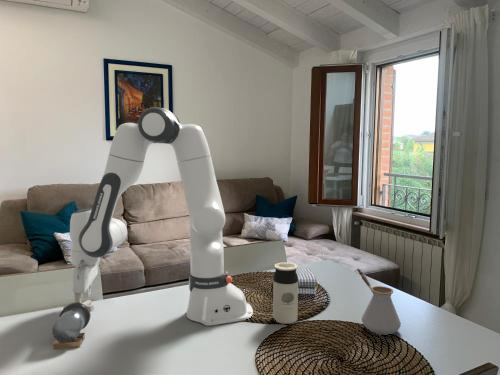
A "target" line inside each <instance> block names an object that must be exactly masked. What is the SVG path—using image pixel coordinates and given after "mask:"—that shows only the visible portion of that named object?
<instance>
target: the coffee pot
mask: <svg viewBox="0 0 500 375" xmlns="http://www.w3.org/2000/svg"><path fill="white" fill-rule="evenodd" d="M356 271H357V273H358V274H359V276H360V277H361V279H362V280H363V282H364V283H365V284H366V286H367V287H368V288H369V290H370V291H371V292H372V296H371V299H369V300H370V301H369V303H368V305H367V306H366V309H365V310H364V312H363V314H362V315H361V316H362V317H361V322H362V324H363V325H364V327H365V328H366V329H367V330H368V329H369V330H370V331H372V332H374V333H377V334H383V335H388V334H392V335H393V334H394V333H396V332H397V331H399V329H400V328H401V324H402V323H401V319H400V318H399V315H398V312H397V310H396V308H395V305H394V303H393V299H392V297H391V296H392V294H393V293H394V289H393V288H391V287H387V286H380V285H377V286H372V285H371V283H370V281H369V280H368V278H367V277H366V276H365V275H364V274H363V271H362V269H360V268H356V269H354V272H356ZM369 330H368V331H369ZM370 331H369V332H370ZM374 333H373V334H374ZM377 334H376V335H377ZM388 336H389V335H388Z"/></svg>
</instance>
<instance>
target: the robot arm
mask: <svg viewBox="0 0 500 375" xmlns="http://www.w3.org/2000/svg"><path fill="white" fill-rule="evenodd" d="M152 144H167V145H170V146H171V147H172V148H173V150H174V154H175V157H176V162H177V167H178V172H179V176H180V180H181V185H182V189H183V193H184V198H185V203H186V208H187V211H188V212H187V213H188V215H189V247H190V248H189V250H190V253H189V255H190V256H189V257H190V260H189V262H190V265H189V266H190V272H189V276H188V289H189V291H190V292H189V298H188V299H189V300H188V305H187V310H186V312H185V315H186V318H188V319H189V320H191V321H193V322H197V323H201V324H203V325H205V326H207V327H210V326H216V325H217V326H218V325H221V324H229V323H235V322H240V321H241V322H242V321H247V320H246V319H248V320H250V319H249V318H251V316H252V315H253V316H254V309H253V306H252V305H251V304H250V303H249V302H247V300H246V296H245V294H244V292H243V290H241V289H240V288H238V287H237V286H235V285H234V284H233V283H232V282H233V277H232V276H231V275H230V274H229V272H228V271H225V270H224V266H225V265H224V263H225V262H224V261H225V260H224V256H225V255H224V254H225V253H224V251H225V249H224V240H223V229H224V226H225V224H226V214H225V209H224V205H223V201H222V196H221V192H220V189H219V186H218V182H217V177H216V173H215V169H214V164H213V160H212V154H211V150H210V147H209V143H208V140H207V138H206V135H205V133H204V131H203V129H202V127H201V126H199V125H197V124H194V123H186V124H182V123H181V122H180V120H179V118H178V117H177V115H176V114H174V113H173V112H171V110H169V109H167V108H163V107H158V106H153V107H149V108H147V109H145V110H144V111H142V112H141V113H140V116H139V117H138V120H137V123H135V122H125V123H122V124H120V125H119V126H118V127H117V129H116V131H115V133H114V135H113V139H112V140H111V144H110V147H109V151H108V152H109V153H108V157H107V161H106V164H105V169H104V172H103V175H102V177H101V179H100V180H101V181H100V182H99V185H98V188H97V191H96V194H95V198H94V201H93V204H92V206H91V207H89V208H84V209H80V210H76V211H74V212H73V213H71V215H70V217H71V218H70V220H69V223H70V224H69V237H70V241H71V245H70V264H72V265H73V266H75V268H74V270H73V273H72V292H73V294H74V293H75V294H79V293H81V294H82V297H83V299H89V297H90V296H91V294H92V292H91V289H92V283H93V281H94V280H95V279H96V277H97V275H98V274H99V264H100V263H99V262H100V260H101V258H102V257H104V256H105V255H107V254H108V253H109V252H110V251H112V250H114V249H115V248H117V247H119V246H120V245H122V244H123V243H124V242H125V241H126V240H127V237H128V233H129V232H128V227H127V225H126V224H125V222H123V221H122V220H121V219H119V218H114V217H113V216H114V212H115V210H116V206H117V203H118V201H119V199H120V197H121V196H122V194H123V193H124V192H125V191H127V189H129V187H131V186H132V185H134V184H135V183H136V182H137V181H138V180H139V178H140V176H141V173H142V171H143V167H144V164H145V159H146V154H147V151H148V148H149V146H151V145H152ZM253 316H252V317H253ZM251 319H252V318H251Z"/></svg>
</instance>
